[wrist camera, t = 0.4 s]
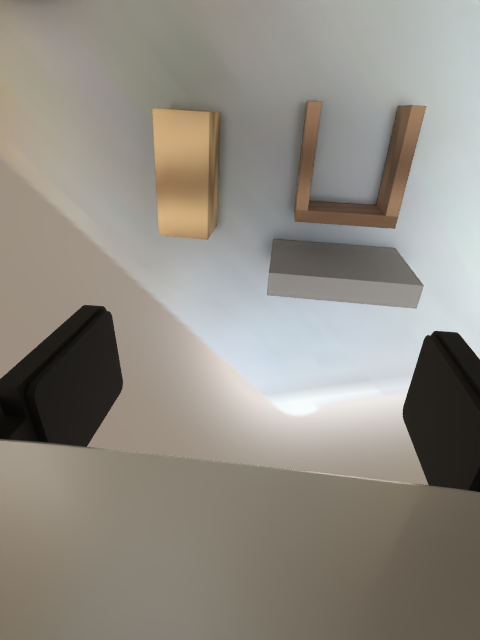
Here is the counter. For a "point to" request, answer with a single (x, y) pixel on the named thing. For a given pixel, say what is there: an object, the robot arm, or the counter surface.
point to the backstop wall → (342, 274)
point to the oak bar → (186, 171)
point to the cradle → (391, 183)
